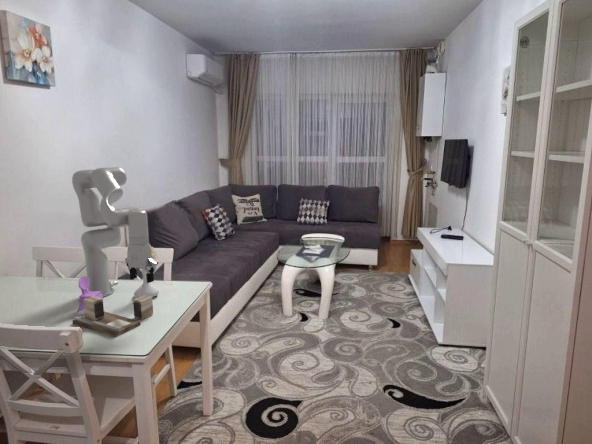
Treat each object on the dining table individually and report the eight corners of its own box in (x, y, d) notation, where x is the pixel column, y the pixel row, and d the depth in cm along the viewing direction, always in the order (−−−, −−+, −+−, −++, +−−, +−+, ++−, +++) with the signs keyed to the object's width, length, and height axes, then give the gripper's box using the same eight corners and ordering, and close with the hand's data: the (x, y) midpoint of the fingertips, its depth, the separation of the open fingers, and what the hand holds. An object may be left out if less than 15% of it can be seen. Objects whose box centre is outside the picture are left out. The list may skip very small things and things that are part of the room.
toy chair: (96, 313, 177) (93, 280, 174) (75, 313, 177) (72, 280, 174) (105, 306, 185) (102, 274, 182) (86, 305, 185) (83, 274, 182)
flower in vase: (148, 302, 190) (145, 249, 185) (128, 298, 194) (125, 247, 189) (166, 292, 202) (163, 243, 198) (147, 289, 206) (143, 241, 201)
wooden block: (153, 314, 176) (152, 296, 175) (141, 320, 170) (139, 302, 169) (145, 312, 178) (144, 295, 177) (133, 318, 172) (132, 300, 171)
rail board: (98, 313, 177) (97, 292, 175) (140, 324, 166) (138, 302, 164) (72, 323, 167) (70, 301, 165) (115, 336, 155) (113, 313, 154)
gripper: (116, 239, 169) (120, 279, 172) (147, 244, 161) (150, 286, 164) (131, 236, 176) (134, 274, 179) (161, 240, 168) (163, 280, 171)
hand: (141, 280), depth 171 cm, fingers open, 9 cm apart
